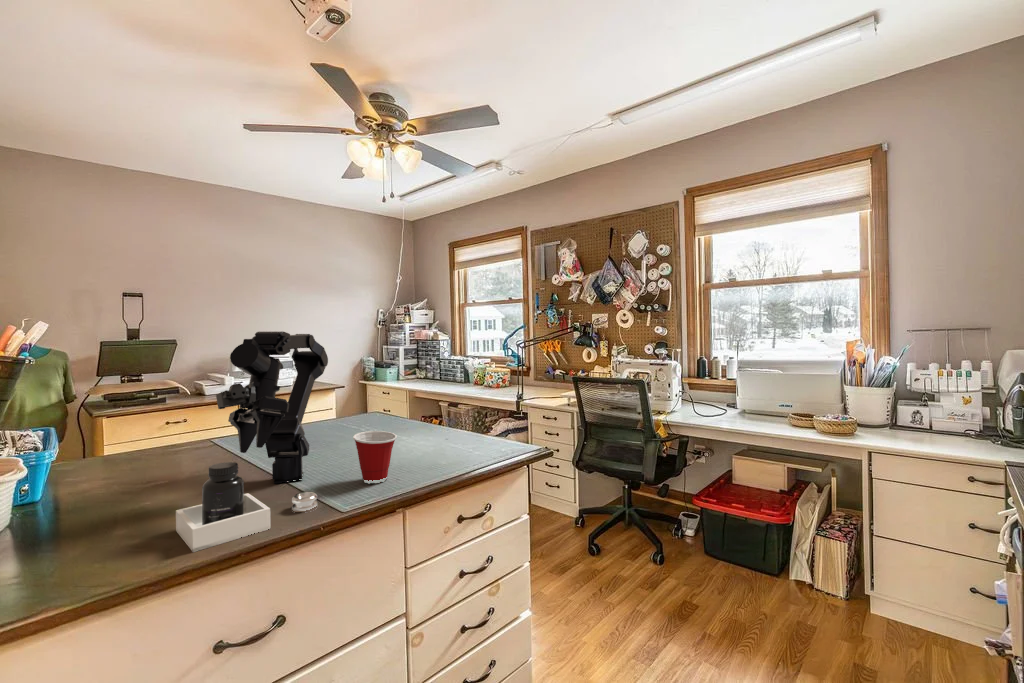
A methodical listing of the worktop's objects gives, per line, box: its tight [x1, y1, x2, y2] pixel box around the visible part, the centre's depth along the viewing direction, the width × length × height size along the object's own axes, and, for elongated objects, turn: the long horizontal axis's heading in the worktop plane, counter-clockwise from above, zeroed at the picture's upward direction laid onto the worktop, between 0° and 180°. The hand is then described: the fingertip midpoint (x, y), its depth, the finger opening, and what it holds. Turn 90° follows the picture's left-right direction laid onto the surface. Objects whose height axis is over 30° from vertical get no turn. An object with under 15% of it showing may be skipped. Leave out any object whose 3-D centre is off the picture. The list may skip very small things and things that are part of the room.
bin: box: [175, 493, 272, 553], centre depth 87 cm, size 13×13×4 cm
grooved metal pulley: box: [291, 491, 318, 512], centre depth 98 cm, size 5×3×5 cm
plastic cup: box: [352, 430, 398, 481], centre depth 116 cm, size 11×11×12 cm
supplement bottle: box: [201, 461, 245, 525], centre depth 87 cm, size 7×7×12 cm
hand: (250, 450), depth 98 cm, fingers open, 9 cm apart
